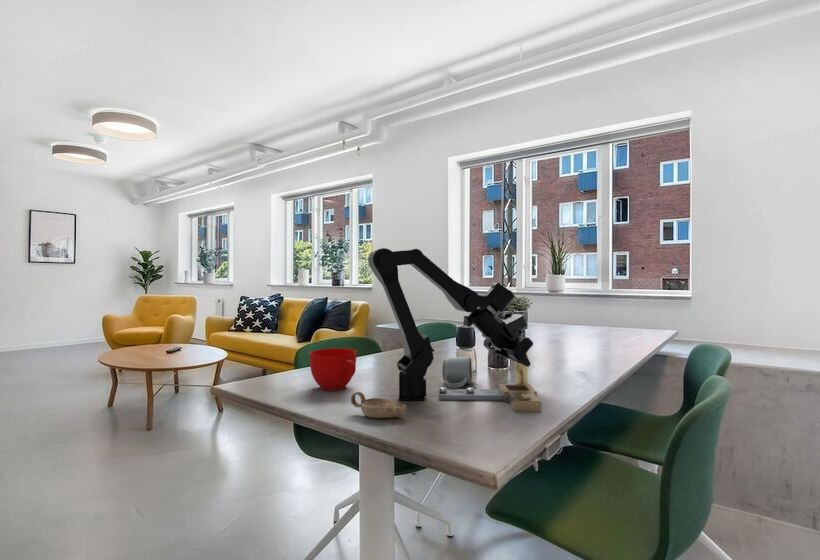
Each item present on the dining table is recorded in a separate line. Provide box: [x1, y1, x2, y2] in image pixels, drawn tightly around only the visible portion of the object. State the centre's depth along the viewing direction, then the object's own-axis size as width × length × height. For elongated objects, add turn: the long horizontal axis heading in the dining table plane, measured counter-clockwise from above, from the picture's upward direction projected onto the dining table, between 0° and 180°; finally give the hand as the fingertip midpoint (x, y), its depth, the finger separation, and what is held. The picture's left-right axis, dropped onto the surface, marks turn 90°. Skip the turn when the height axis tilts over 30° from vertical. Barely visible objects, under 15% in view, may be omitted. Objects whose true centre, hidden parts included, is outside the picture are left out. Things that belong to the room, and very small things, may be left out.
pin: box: [515, 351, 529, 384], centre depth 120 cm, size 4×4×13 cm
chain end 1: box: [438, 386, 526, 403], centre depth 111 cm, size 24×8×2 cm, turn 87°
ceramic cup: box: [309, 347, 357, 391], centre depth 120 cm, size 13×17×10 cm
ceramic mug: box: [441, 356, 473, 389], centre depth 125 cm, size 11×8×8 cm
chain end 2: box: [498, 383, 542, 413], centre depth 107 cm, size 8×16×3 cm, turn 177°
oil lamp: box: [350, 391, 407, 419], centre depth 96 cm, size 13×8×5 cm, turn 66°
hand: (525, 364), depth 120 cm, fingers closed on pin, 3 cm apart
